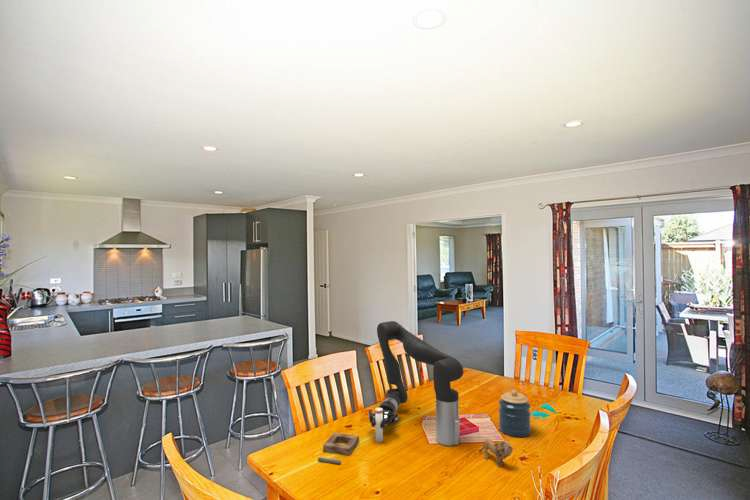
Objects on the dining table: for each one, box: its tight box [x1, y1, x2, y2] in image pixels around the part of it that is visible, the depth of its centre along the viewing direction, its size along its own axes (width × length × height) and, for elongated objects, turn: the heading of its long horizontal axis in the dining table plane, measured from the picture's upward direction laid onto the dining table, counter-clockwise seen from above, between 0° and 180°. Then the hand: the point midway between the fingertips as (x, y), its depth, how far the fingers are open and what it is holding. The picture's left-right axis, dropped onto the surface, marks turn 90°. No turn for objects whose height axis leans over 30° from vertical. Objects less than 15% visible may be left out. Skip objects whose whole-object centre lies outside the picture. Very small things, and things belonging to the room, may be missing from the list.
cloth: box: [530, 402, 557, 420], centre depth 186 cm, size 26×14×2 cm, turn 123°
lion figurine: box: [478, 438, 514, 468], centre depth 142 cm, size 15×5×9 cm, turn 35°
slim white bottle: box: [374, 407, 384, 443], centre depth 158 cm, size 3×3×13 cm
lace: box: [317, 456, 342, 465], centre depth 141 cm, size 9×1×1 cm, turn 73°
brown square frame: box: [322, 432, 360, 456], centre depth 153 cm, size 11×11×2 cm
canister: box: [498, 389, 532, 438], centre depth 166 cm, size 13×13×18 cm
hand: (377, 425), depth 155 cm, fingers closed on slim white bottle, 3 cm apart
